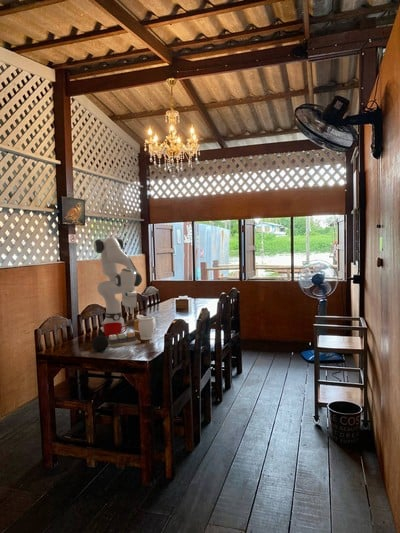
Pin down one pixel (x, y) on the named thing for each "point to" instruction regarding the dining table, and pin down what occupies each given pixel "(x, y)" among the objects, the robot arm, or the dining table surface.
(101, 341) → the speaker
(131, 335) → the button three
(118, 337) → the button two
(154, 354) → the dining table surface
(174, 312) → the dining table surface
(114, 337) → the button one
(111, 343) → the button board
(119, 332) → the ceramic cup
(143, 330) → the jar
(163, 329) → the dining table surface
